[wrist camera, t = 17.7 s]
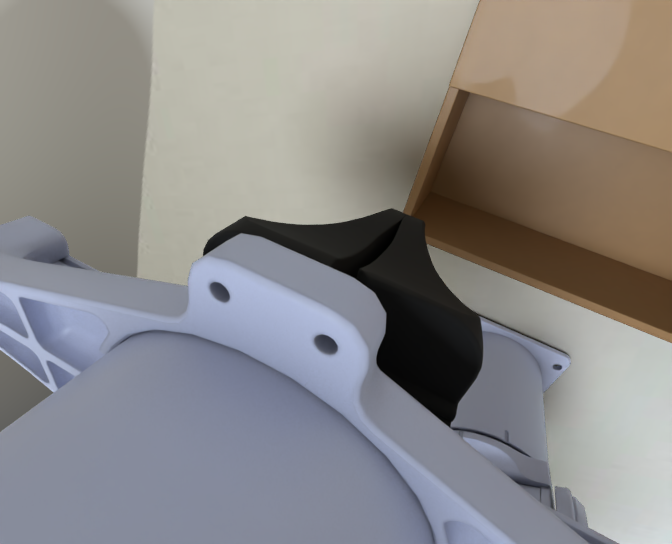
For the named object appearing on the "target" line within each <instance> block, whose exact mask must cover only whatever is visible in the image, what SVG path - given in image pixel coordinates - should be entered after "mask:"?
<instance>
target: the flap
mask: <svg viewBox="0 0 672 544" xmlns="http://www.w3.org/2000/svg"><path fill="white" fill-rule="evenodd" d="M449 86H450V87H453V88H457V89H460V90H463V91H467V92H470V93H473V94H477V95H480V96H483V97H487V98H490V99H493V100H497V101H500V102H503V103H507V104H510V105H513V106H517V107H520V108H523V109H527V110H530V111H533V112H537V113H540V114H544V115H547V116H550V117H554V118H557V119H560V120H564V121H567V122H570V123H574V124H577V125H580V126H584V127H587V128H590V129H594V130H597V131H600V132H604V133H607V134H610V135H614V136H617V137H620V138H624V139H627V140H630V141H634V142H637V143H640V144H644V145H647V146H650V147H654V148H657V149H660V150H664V151H667V152H670V153H672V0H480V1H479V4H478V7H477V10H476V12H475V15H474V18H473V21H472V23H471V26H470V29H469V32H468V34H467V37H466V40H465V43H464V45H463V48H462V51H461V54H460V56H459V59H458V62H457V65H456V67H455V70H454V73H453V76H452V78H451V81H450V84H449Z"/></svg>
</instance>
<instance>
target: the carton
mask: <svg viewBox="0 0 672 544" xmlns="http://www.w3.org/2000/svg"><path fill="white" fill-rule="evenodd" d="M403 213H405V214H407V215H410V216H412V217H415V218H418V219H420V220H423V221H424V222H425V225H426V226H425V238H426V244H429V245H431V246H434V247H436V248H439V249H441V250H444V251H446V252H449V253H451V254H454V255H456V256H459V257H461V258H463V259H466V260H468V261H471V262H473V263H476V264H478V265H481V266H483V267H486V268H488V269H491V270H493V271H495V272H498V273H500V274H503V275H505V276H508V277H510V278H513V279H515V280H518V281H520V282H523V283H525V284H528V285H530V286H532V287H535V288H537V289H540V290H542V291H545V292H547V293H550V294H552V295H555V296H557V297H560V298H562V299H564V300H567V301H569V302H572V303H574V304H577V305H579V306H582V307H584V308H587V309H589V310H592V311H594V312H597V313H599V314H601V315H604V316H606V317H609V318H611V319H614V320H616V321H619V322H621V323H624V324H626V325H629V326H631V327H633V328H636V329H638V330H641V331H643V332H646V333H648V334H651V335H653V336H656V337H658V338H661V339H663V340H666V341H668V342H670V343H672V153H670V152H667V151H664V150H660V149H657V148H654V147H650V146H647V145H644V144H640V143H637V142H634V141H630V140H627V139H624V138H620V137H617V136H614V135H610V134H607V133H604V132H600V131H597V130H594V129H590V128H587V127H584V126H580V125H577V124H574V123H570V122H567V121H564V120H560V119H557V118H554V117H550V116H547V115H544V114H540V113H537V112H533V111H530V110H527V109H523V108H520V107H517V106H513V105H510V104H507V103H503V102H500V101H497V100H493V99H490V98H487V97H483V96H480V95H477V94H473V93H470V92H467V91H463V90H460V89H457V88H453V87H450V86H449V89H448V91H447V94H446V97H445V100H444V102H443V105H442V108H441V110H440V113H439V116H438V119H437V121H436V124H435V127H434V130H433V132H432V135H431V138H430V140H429V143H428V146H427V149H426V151H425V154H424V157H423V160H422V162H421V165H420V168H419V170H418V173H417V176H416V179H415V181H414V184H413V187H412V190H411V192H410V195H409V198H408V200H407V203H406V206H405V209H404V211H403Z"/></svg>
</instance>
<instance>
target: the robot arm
mask: <svg viewBox="0 0 672 544" xmlns="http://www.w3.org/2000/svg"><path fill="white" fill-rule="evenodd" d="M425 226H426V225H425V222H424V221H423V220H420V219H418V218H415V217H412V216H410V215H407V214H405V213H402V212H400V211H397V210H394V209H388V210H385V211H382V212H379V213H376V214H373V215H370V216H367V217H363V218H359V219H355V220H351V221H347V222H341V223H334V224H324V225H297V224H286V223H278V222H271V221H266V220H261V219H256V218H251V217H247V216H245V217H243V218H241V219H240V220H238V221H236V222H235V223H233V224H231V225H230V226H228V227H226V228H225V229H223V230H221V231H220V232H218V233H216V234H215V235H214V236H213V237H212V238H210V239H209V240H208V242H207V244H206V246H205V248H204V252H203V257H201V258H200V259H198V260H197V261H195V262H194V263H192V266H191V270H190V273H189V277H188V286H185V285H179V284H173V283H167V282H161V281H154V280H148V279H142V278H136V277H130V276H123V275H117V274H111V273H105V272H100V271H98V270H96V269H94V268H92V267H90V266H88V265H87V264H85V263H83V262H81V261H79V260H77V259H75V258H73V257H71V256H69V248H68V244H67V241H66V239H65V237H64V236H63V235H62V233H61V232H60V231H59V230H57V229H56V228H54V227H52V226H50V225H48V224H46V223H44V222H42V221H40V220H38V219H36V218H34V217H32V216H26V217H23V218H20V219H17V220H14V221H11V222H8V223H5V224H2V225H0V350H1V351H3V352H4V353H5V354H7V355H8V356H9V357H11V358H12V359H13V360H14V361H16V362H17V363H18V364H19V365H21V366H22V367H23V368H25V369H26V370H27V371H28V372H30V373H31V374H32V375H33V376H35V377H36V378H37V379H38V380H39V381H40V382H42V383H43V384H44V385H45V386H47V387H48V388H49V389H50V390H51V391H53V392H54V393H53V394H51V395H50V396H49V397H47V398H46V399H45V400H43V401H42V402H40V403H39V404H38V405H37V406H35V407H34V408H32V409H31V410H30V411H28V412H27V413H26V414H24V415H23V416H21V417H20V418H19V419H17V420H16V421H15V422H13V423H12V424H11V425H9V426H8V427H6V428H5V429H4V430H2V431H1V432H0V544H618V543H617V542H615V541H613V540H611V539H609V538H607V537H605V536H603V535H601V534H599V533H597V532H596V531H594V530H592V529H590V528H588V523H587V517H586V512H585V508H584V506H583V505H582V504H581V503H580V502H579V501H578V500H577V499H576V498H575V497H572V494H571V491H570V490H569V489H568V488H563V487H557V486H555V498H556V510H555V505H554V498H553V491H552V484H551V477H550V470H549V463H548V451H547V439H546V426H545V414H544V402H543V393H544V392H545V391H546V390H547V389H548V388H549V387H550V386H551V385H552V384H553V382H554V381H555V380H556V379H557V378H558V377H559V376H560V375H561V374H562V373H563V372H564V371H565V370H566V369H567V368H568V367H569V365H570V364H571V361H570V357H569V356H568V355H567V354H565V353H562V352H560V351H558V350H556V349H553V348H551V347H549V346H547V345H544V344H542V343H540V342H537V341H535V340H533V339H531V338H528V337H526V336H524V335H521V334H519V333H517V332H515V331H512V330H510V329H508V328H505V327H503V326H501V325H499V324H496V323H494V322H492V321H489V320H487V319H485V318H483V317H480V316H478V315H477V314H475V313H474V312H473V311H472V310H470V309H469V308H468V307H467V306H465V305H464V304H463V303H462V302H461V301H460V300H459V299H458V298H457V297H456V296H455V295H454V294H453V293H452V292H451V291H450V290H449V289H448V287H447V286H446V285H445V284H444V282H443V281H442V279H441V278H440V277H439V275H438V273H437V272H436V270H435V268H434V266H433V264H432V261H431V259H430V256H429V252H428V249H427V244H426V238H425ZM555 364H559V365H560V366H554V365H555Z"/></svg>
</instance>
